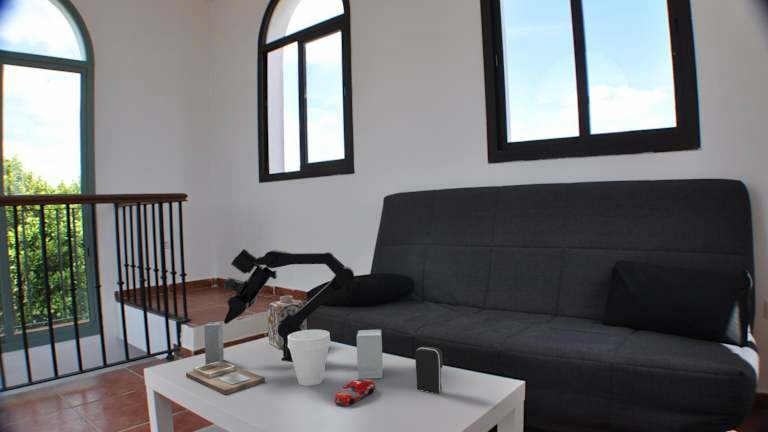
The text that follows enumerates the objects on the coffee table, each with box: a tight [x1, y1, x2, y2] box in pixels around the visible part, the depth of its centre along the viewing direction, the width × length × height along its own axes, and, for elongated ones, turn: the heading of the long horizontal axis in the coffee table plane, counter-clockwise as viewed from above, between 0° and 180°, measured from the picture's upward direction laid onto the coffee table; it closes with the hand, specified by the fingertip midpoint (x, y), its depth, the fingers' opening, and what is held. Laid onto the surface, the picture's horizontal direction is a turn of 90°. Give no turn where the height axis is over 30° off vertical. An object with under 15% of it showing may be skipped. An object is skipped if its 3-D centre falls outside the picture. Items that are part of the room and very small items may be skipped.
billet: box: [203, 321, 225, 365], centre depth 156 cm, size 5×5×13 cm
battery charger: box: [415, 346, 444, 394], centre depth 124 cm, size 7×4×11 cm, turn 56°
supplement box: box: [356, 329, 384, 380], centre depth 138 cm, size 7×7×13 cm
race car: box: [333, 378, 376, 406], centre depth 121 cm, size 13×5×4 cm, turn 142°
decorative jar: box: [267, 295, 308, 350], centre depth 177 cm, size 12×12×18 cm
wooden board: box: [185, 360, 266, 395], centre depth 139 cm, size 13×24×2 cm, turn 47°
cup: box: [288, 329, 331, 387], centre depth 134 cm, size 12×12×14 cm
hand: (228, 320), depth 156 cm, fingers open, 9 cm apart
